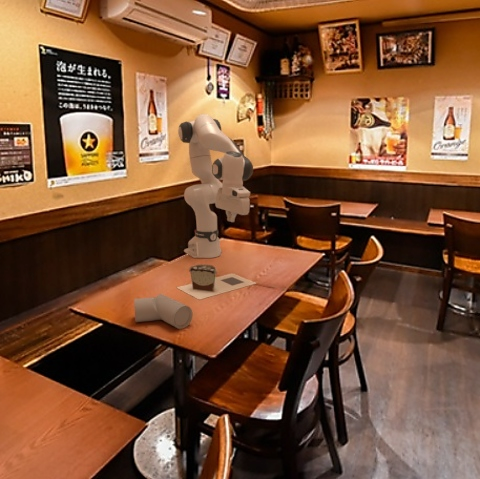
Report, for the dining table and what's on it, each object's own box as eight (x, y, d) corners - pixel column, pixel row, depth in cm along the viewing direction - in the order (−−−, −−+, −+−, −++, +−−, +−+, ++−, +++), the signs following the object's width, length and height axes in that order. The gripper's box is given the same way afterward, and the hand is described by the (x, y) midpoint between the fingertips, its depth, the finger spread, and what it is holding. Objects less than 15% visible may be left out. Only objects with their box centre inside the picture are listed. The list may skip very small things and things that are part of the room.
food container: (221, 287, 199) (221, 265, 197) (216, 292, 193) (215, 269, 191) (195, 284, 203) (194, 263, 200) (189, 289, 197) (188, 267, 195)
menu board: (176, 287, 199) (176, 287, 199) (232, 273, 218) (232, 273, 218) (199, 299, 186) (199, 299, 185) (256, 283, 204) (256, 283, 204)
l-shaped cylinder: (187, 306, 176) (135, 311, 172) (187, 283, 172) (133, 287, 167) (194, 334, 161) (136, 341, 156) (194, 310, 156) (135, 316, 152)
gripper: (212, 187, 202) (211, 217, 206) (241, 193, 187) (239, 226, 190) (223, 186, 206) (222, 216, 210) (252, 193, 191) (251, 225, 194)
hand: (230, 221), depth 200 cm, fingers closed
